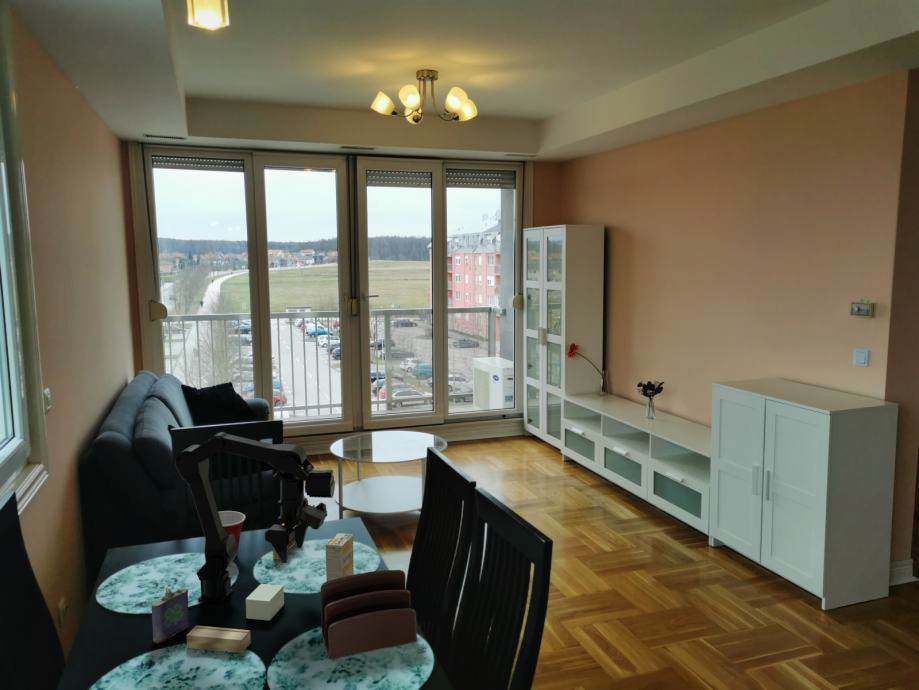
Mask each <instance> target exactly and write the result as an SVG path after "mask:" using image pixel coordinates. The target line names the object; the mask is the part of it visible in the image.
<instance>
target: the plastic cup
mask: <svg viewBox="0 0 919 690" xmlns="http://www.w3.org/2000/svg"><path fill="white" fill-rule="evenodd" d="M218 513H219V516H220V519H221V522H222V526H223V529H224V531H225V532H226V533H227V534H228V535H231V534H234V536H235V542H236V544H237V545H238V547H239V544H240V540H241V533H242V527H243V523H244V522H245V520H246V515H245V514H243V513H242V512H239V511H236V510H235V511H233V510H224V511H218ZM238 552H239V548H238V549H237V555H236V557H237V556H238Z"/></svg>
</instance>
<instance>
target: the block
mask: <svg viewBox="0 0 919 690" xmlns="http://www.w3.org/2000/svg"><path fill="white" fill-rule="evenodd" d="M284 587H285V586H284V585H278V584H268V583H266V584H265V583H260V584H259V585H258V586H257V587H256V588H255V589H254V590H253V591H252V592H251V593H250V594H249V595H248V596H247V597H246V598H245V616H246V619H251V620H260V621H262V620H263V621H271V620H272V619H273V617H275V615H277V613H278V612H279V611H280V609H282V607H283V606H284V605H285V592H284V591H285V588H284Z"/></svg>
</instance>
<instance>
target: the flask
mask: <svg viewBox="0 0 919 690" xmlns="http://www.w3.org/2000/svg"><path fill="white" fill-rule="evenodd" d="M164 591H165V594H164V596H162V597H161V598H159V599H157V600H155V601H154V602H152V604H151V605H150V606H151V607H150V608H151V620H152V621H151V624H152V640H153V641H152V642H153V643H154V644H159V643H162V642H164V641H167V639H168V640H169V639H170V638H172V637H174V636H175V635H176V634H177V633H180V632H182V631H184V630H185V629H188V628H189V626H190V623H189V621H190V619H189V617H190V616H189V596H188V595H189V590H188V589H186V588H180V589H179V588H178V589H177V590H175V591H172V590H171V588H169V587H166V588H165V589H164Z"/></svg>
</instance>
